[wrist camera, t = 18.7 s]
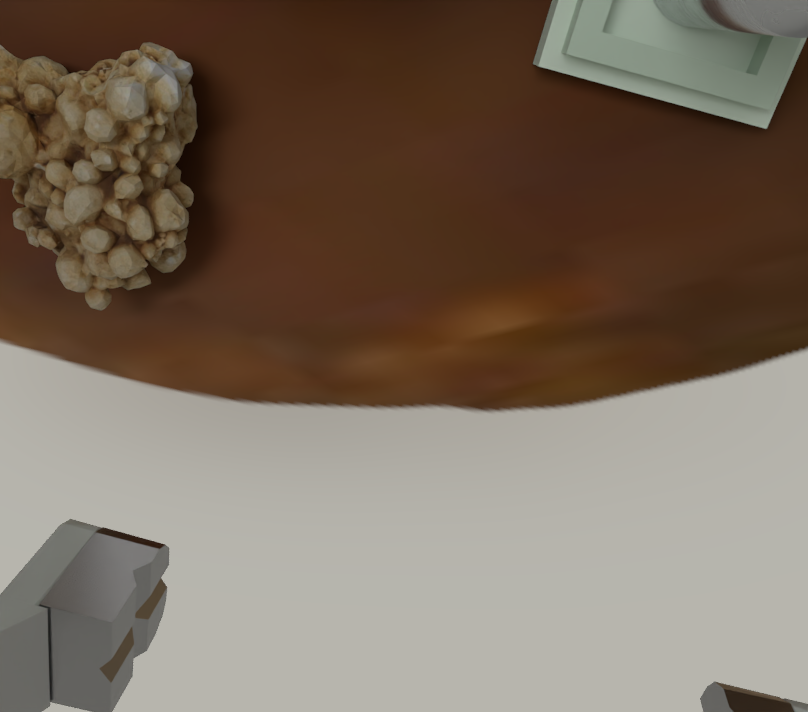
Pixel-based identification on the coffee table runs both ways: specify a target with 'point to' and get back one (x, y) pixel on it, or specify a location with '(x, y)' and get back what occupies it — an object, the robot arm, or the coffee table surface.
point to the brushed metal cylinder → (740, 15)
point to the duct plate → (668, 57)
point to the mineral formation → (100, 164)
